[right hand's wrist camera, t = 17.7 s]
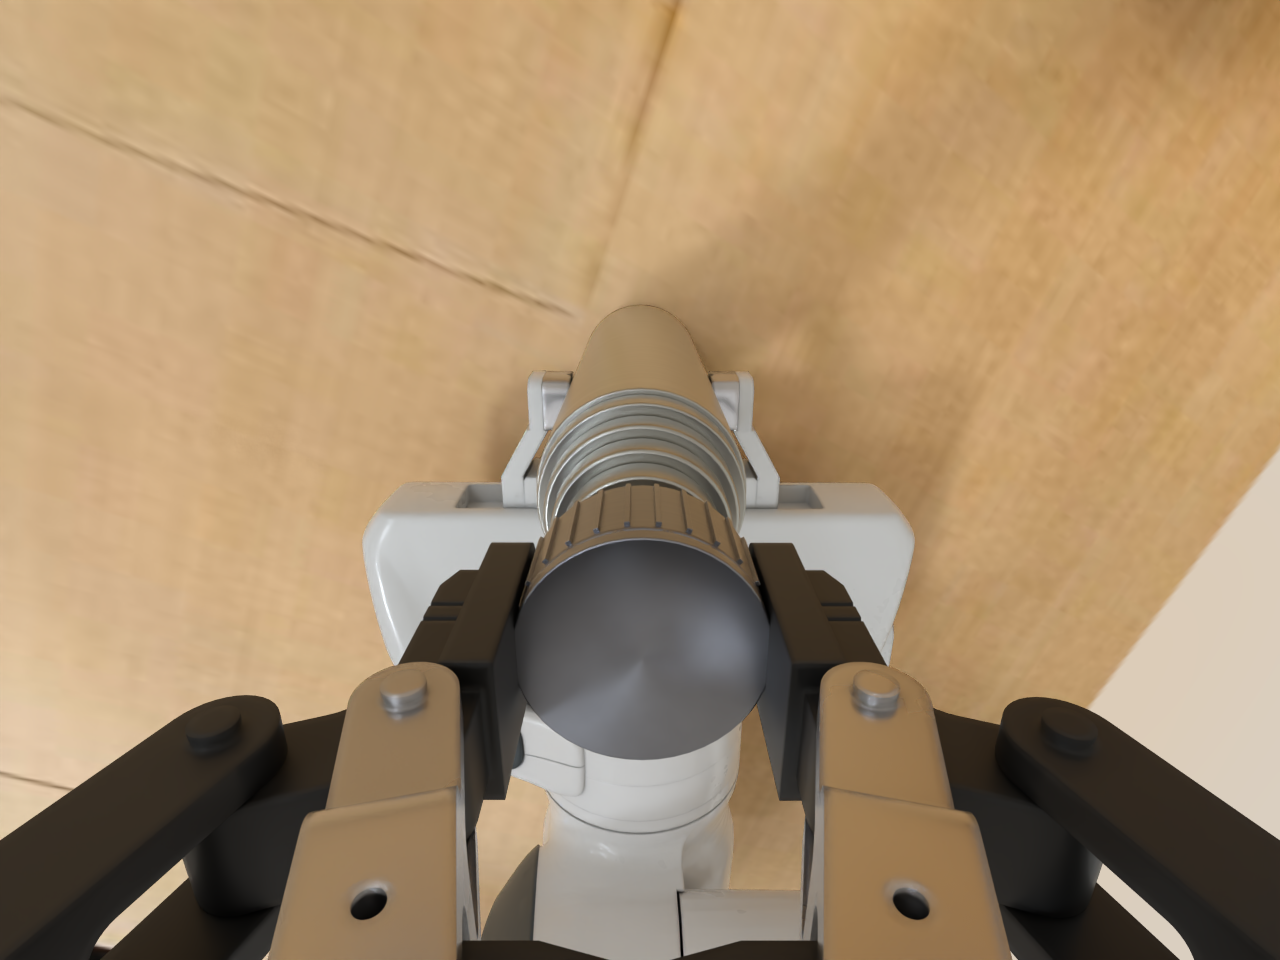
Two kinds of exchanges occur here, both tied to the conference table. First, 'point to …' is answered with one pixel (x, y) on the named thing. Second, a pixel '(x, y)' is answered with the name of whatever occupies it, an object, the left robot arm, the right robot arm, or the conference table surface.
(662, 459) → the bottle
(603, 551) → the cap
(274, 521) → the conference table surface
